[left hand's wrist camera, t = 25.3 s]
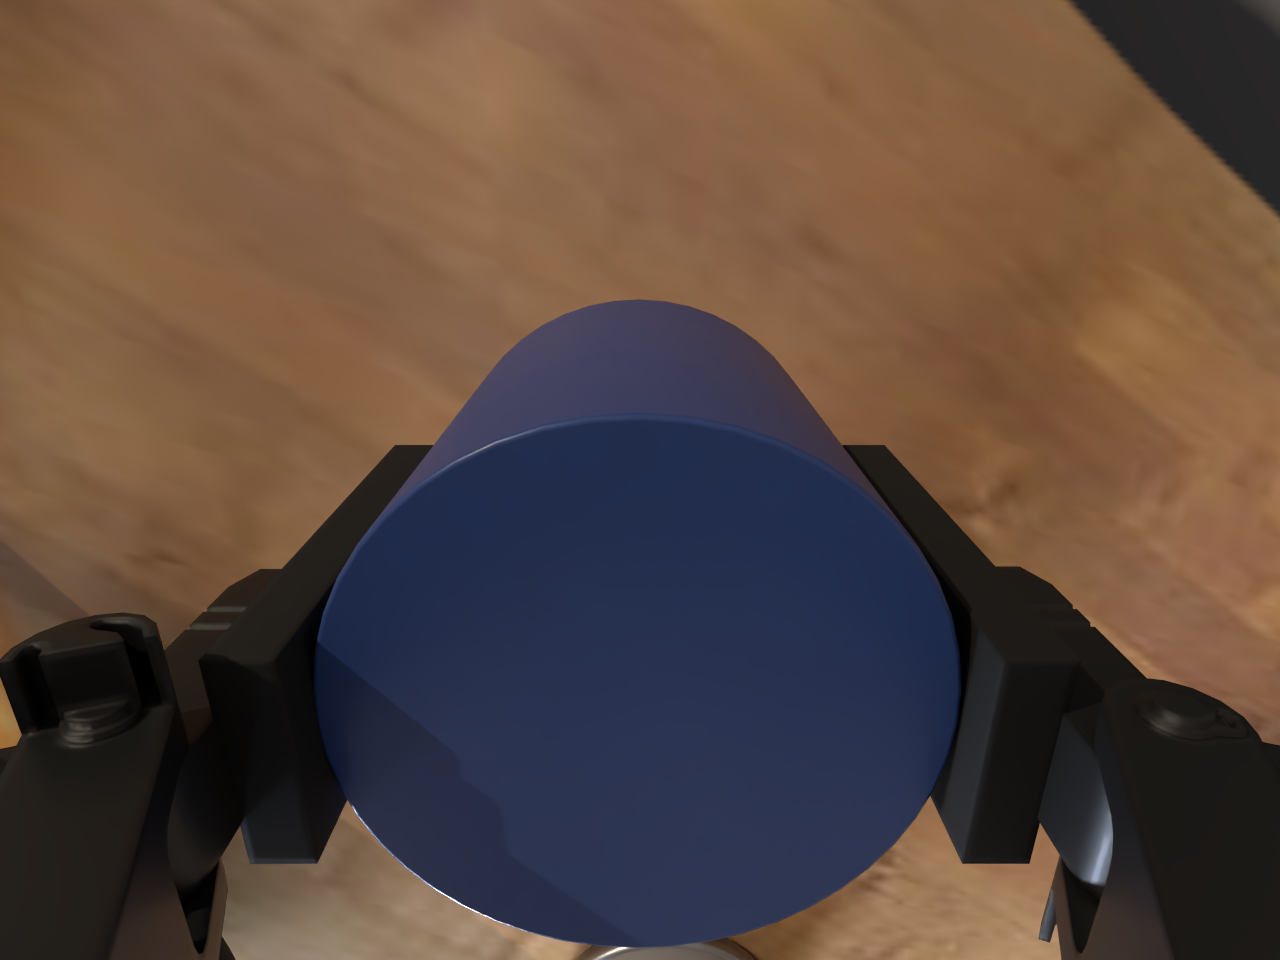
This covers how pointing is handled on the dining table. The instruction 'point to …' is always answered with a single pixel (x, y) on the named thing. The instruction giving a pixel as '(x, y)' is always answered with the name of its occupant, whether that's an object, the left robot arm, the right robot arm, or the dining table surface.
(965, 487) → the dining table surface
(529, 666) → the canister
